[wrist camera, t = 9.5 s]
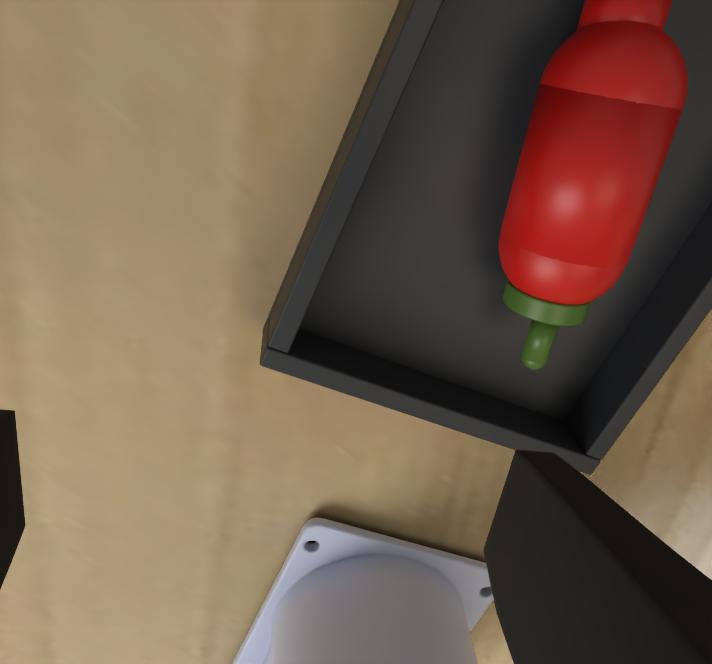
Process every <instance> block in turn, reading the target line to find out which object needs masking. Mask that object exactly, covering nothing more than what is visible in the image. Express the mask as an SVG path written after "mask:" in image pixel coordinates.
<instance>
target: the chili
mask: <svg viewBox="0 0 712 664" xmlns="http://www.w3.org/2000/svg"><path fill="white" fill-rule="evenodd" d="M672 1H673V0H585V2H584V6H583V9H582V13H581V16H580V20H579V24H578V27H577V31H576V32H575V33H574V34H573V35H572V36H570V37H569V38H568V39H567V40H566V41H564V42H563V43H562V44H561V46H560V47H559V48H558V49H557V50H556V52H555V53H554V54H553V55H552V57H551V58H550V60H549V62H548V64H547V65H546V67H545V69H544V72H543V75H542V77H541V80H540V83H539V86H538V90H537V94H536V97H535V101H534V105H533V109H532V113H531V116H530V120H529V124H528V128H527V132H526V135H525V139H524V143H523V147H522V151H521V154H520V158H519V162H518V166H517V170H516V173H515V177H514V181H513V185H512V189H511V193H510V196H509V200H508V204H507V208H506V212H505V215H504V219H503V223H502V227H501V231H500V237H499V257H500V261H501V264H502V268H503V270H504V272H505V274H506V276H507V278H508V280H507V283H506V286H505V290H504V293H503V301H504V303H505V304H506V306H508V307H509V308H510V309H511V310H513V311H514V312H516V313H518V314H520V315H522V316H524V317H527V318H529V319H532V322H531V325H530V328H529V331H528V335H527V338H526V341H525V345H524V348H523V351H522V355H521V359H522V362H523V364H524V365H525V366H526V367H527V368H529V369H532V370H538V369H541V368H543V367H544V366H545V365H546V363H547V361H548V358H549V355H550V352H551V349H552V346H553V343H554V340H555V337H556V334H557V331H558V328H559V326H575V325H579V324H581V323H583V322H584V321H585V319H586V317H587V314H588V311H589V308H590V305H591V301H592V300H594V299H596V298H598V297H599V296H601V295H603V294H604V293H605V292H607V291H608V290H609V289H610V288H611V287H612V286H613V285H614V284H615V283H616V282H617V280H618V279H619V278H620V276H621V275H622V273H623V271H624V269H625V267H626V265H627V263H628V261H629V258H630V255H631V253H632V250H633V247H634V244H635V242H636V239H637V236H638V233H639V230H640V228H641V225H642V222H643V219H644V217H645V214H646V211H647V208H648V206H649V203H650V200H651V197H652V194H653V192H654V189H655V186H656V183H657V181H658V178H659V175H660V172H661V170H662V167H663V164H664V161H665V158H666V156H667V153H668V150H669V147H670V145H671V142H672V139H673V136H674V134H675V131H676V128H677V125H678V122H679V120H680V117H681V114H682V111H683V108H684V104H685V100H686V96H687V85H688V76H687V70H686V64H685V61H684V59H683V56H682V54H681V51H680V49H679V48H678V46H677V45H676V44H675V42H674V41H673V39H672V38H671V37H670V36H669V35H668V34H666V33H665V32H664V31H663V28H664V25H665V22H666V19H667V16H668V13H669V10H670V7H671V4H672Z"/></svg>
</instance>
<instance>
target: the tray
mask: <svg viewBox="0 0 712 664" xmlns="http://www.w3.org/2000/svg"><path fill="white" fill-rule="evenodd" d="M584 2H585V0H400V1H399V3H398V5H397V8H396V10H395V13H394V15H393V18H392V20H391V22H390V25H389V27H388V30H387V32H386V34H385V37H384V39H383V42H382V44H381V46H380V49H379V51H378V54H377V56H376V58H375V61H374V63H373V66H372V68H371V70H370V73H369V75H368V78H367V80H366V82H365V85H364V87H363V90H362V92H361V94H360V97H359V99H358V102H357V104H356V106H355V109H354V111H353V114H352V116H351V119H350V121H349V123H348V126H347V128H346V131H345V133H344V135H343V138H342V140H341V143H340V145H339V147H338V150H337V152H336V155H335V157H334V159H333V162H332V164H331V167H330V169H329V171H328V174H327V176H326V179H325V181H324V183H323V186H322V188H321V191H320V193H319V195H318V198H317V200H316V203H315V205H314V208H313V210H312V212H311V215H310V217H309V220H308V222H307V224H306V227H305V229H304V232H303V234H302V236H301V239H300V241H299V244H298V246H297V248H296V251H295V253H294V256H293V258H292V260H291V263H290V265H289V268H288V270H287V272H286V275H285V277H284V280H283V282H282V284H281V287H280V289H279V292H278V294H277V296H276V299H275V301H274V304H273V306H272V309H271V311H270V313H269V316H268V318H267V321H266V323H265V325H264V328H263V337H262V346H261V356H260V365H261V366H264V367H267V368H270V369H273V370H276V371H279V372H282V373H285V374H288V375H291V376H294V377H297V378H300V379H303V380H306V381H309V382H312V383H315V384H318V385H321V386H324V387H327V388H330V389H333V390H336V391H339V392H342V393H345V394H348V395H351V396H354V397H357V398H360V399H363V400H366V401H369V402H372V403H375V404H378V405H381V406H384V407H387V408H390V409H393V410H396V411H399V412H402V413H405V414H409V415H412V416H415V417H418V418H421V419H424V420H427V421H430V422H433V423H436V424H439V425H442V426H445V427H448V428H451V429H454V430H457V431H460V432H463V433H466V434H469V435H472V436H475V437H478V438H481V439H484V440H487V441H490V442H493V443H496V444H499V445H502V446H505V447H508V448H511V449H514V450H527V451H540V452H553V453H555V454H556V455H558V456H559V457H560V458H562V459H563V460H565V461H566V462H567V463H569V464H570V465H571V466H572V467H574V468H575V469H576V470H577V471H580V472H583V473H586V474H592V473H593V471H594V470H595V469H596V467H597V466H598V464H599V463H600V460H602V459H603V458H604V456H605V455H606V453H607V452H608V451H609V449H610V448H611V447H612V445H613V444H614V442H615V441H616V440H617V438H618V437H619V436H620V434H621V433H622V431H623V430H624V429H625V427H626V426H627V424H628V423H629V422H630V420H631V419H632V418H633V416H634V415H635V413H636V412H637V411H638V409H639V408H640V407H641V405H642V404H643V402H644V401H645V400H646V398H647V397H648V396H649V394H650V393H651V391H652V390H653V389H654V387H655V386H656V384H657V383H658V382H659V380H660V379H661V378H662V376H663V375H664V373H665V372H666V371H667V369H668V368H669V367H670V365H671V364H672V362H673V361H674V360H675V358H676V357H677V356H678V354H679V353H680V351H681V350H682V349H683V347H684V346H685V344H686V343H687V342H688V340H689V339H690V338H691V336H692V335H693V333H694V332H695V331H696V329H697V328H698V327H699V325H700V324H701V322H702V321H703V320H704V318H705V317H706V316H707V314H708V313H709V311H710V310H711V309H712V0H673V1H672V4H671V7H670V10H669V13H668V16H667V19H666V22H665V25H664V28H663V31H664V32H665V33H666V34H668V35H669V36H670V37H671V38H672V39H673V41H674V42H675V44H676V45H677V46H678V48H679V49H680V51H681V54H682V56H683V59H684V61H685V64H686V70H687V76H688V85H687V96H686V100H685V104H684V108H683V111H682V114H681V117H680V120H679V122H678V125H677V128H676V131H675V134H674V136H673V139H672V142H671V145H670V147H669V150H668V153H667V156H666V158H665V161H664V164H663V167H662V170H661V172H660V175H659V178H658V181H657V183H656V186H655V189H654V192H653V194H652V197H651V200H650V203H649V206H648V208H647V211H646V214H645V217H644V219H643V222H642V225H641V228H640V230H639V233H638V236H637V239H636V242H635V244H634V247H633V250H632V253H631V255H630V258H629V261H628V263H627V265H626V267H625V269H624V271H623V273H622V275H621V276H620V278H619V279H618V280H617V282H616V283H615V284H614V285H613V286H612V287H611V288H610V289H609V290H608V291H607V292H605V293H604V294H603V295H601V296H599V297H598V298H596V299H594V300H592V301H591V305H590V308H589V311H588V314H587V317H586V319H585V321H584V322H583V323H581V324H579V325H575V326H559V328H558V331H557V334H556V337H555V340H554V343H553V346H552V349H551V352H550V355H549V358H548V361H547V363H546V365H545V366H544V367H543V368H541V369H538V370H532V369H529V368H527V367H526V366H525V365H524V364H523V362H522V359H521V355H522V351H523V348H524V345H525V341H526V338H527V335H528V331H529V328H530V325H531V322H532V319H529V318H527V317H524V316H522V315H520V314H518V313H516V312H514V311H513V310H511V309H510V308H509V307H508V306H506V304H505V303H504V301H503V293H504V290H505V286H506V283H507V280H508V278H507V276H506V274H505V272H504V270H503V268H502V264H501V261H500V257H499V237H500V231H501V227H502V223H503V219H504V215H505V212H506V208H507V204H508V200H509V196H510V193H511V189H512V185H513V181H514V177H515V173H516V170H517V166H518V162H519V158H520V154H521V151H522V147H523V143H524V139H525V135H526V132H527V128H528V124H529V120H530V116H531V113H532V109H533V105H534V101H535V97H536V94H537V90H538V86H539V83H540V80H541V77H542V75H543V72H544V69H545V67H546V65H547V64H548V62H549V60H550V58H551V57H552V55H553V54H554V53H555V52H556V50H557V49H558V48H559V47H560V46H561V44H562V43H563V42H564V41H566V40H567V39H568V38H569V37H570V36H572V35H573V34H574V33H575V32H576V31H577V27H578V24H579V20H580V16H581V13H582V9H583V6H584Z"/></svg>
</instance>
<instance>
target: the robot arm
mask: <svg viewBox="0 0 712 664" xmlns="http://www.w3.org/2000/svg"><path fill="white" fill-rule="evenodd" d="M24 528H25V517H24V506H23V495H22V485H21V474H20V463H19V452H18V442H17V431H16V420H15V411H12V410H0V589H1V586H2V584H3V581H4V579H5V576H6V574H7V572H8V569H9V567H10V564H11V562H12V559H13V557H14V554H15V551H16V549H17V546H18V543H19V541H20V538H21V536H22V533H23V530H24ZM308 541H316V542H315V543H307V542H308ZM484 555H485V560H486V563H484V562H481V561H477V560H473V559H470V558H466V557H463V556H459V555H455V554H452V553H448V552H444V551H441V550H437V549H433V548H430V547H426V546H423V545H419V544H415V543H412V542H408V541H404V540H401V539H397V538H393V537H390V536H386V535H382V534H379V533H375V532H372V531H368V530H364V529H361V528H357V527H353V526H350V525H346V524H342V523H339V522H335V521H332V520H328V519H324V518H312V519H310V520H308V521H307V522H306V523H305V524H304V525H303V527H302V529H301V531H300V533H299V535H298V537H297V539H296V541H295V543H294V545H293V547H292V549H291V550H290V552H289V554H288V556H287V558H286V560H285V562H284V564H283V566H282V568H281V570H280V572H279V574H278V576H277V578H276V579H275V581H274V583H273V585H272V587H271V589H270V591H269V593H268V595H267V597H266V599H265V601H264V603H263V605H262V607H261V608H260V610H259V612H258V614H257V616H256V618H255V620H254V622H253V624H252V626H251V628H250V630H249V632H248V634H247V636H246V637H245V639H244V641H243V643H242V645H241V647H240V649H239V651H238V653H237V655H236V657H235V659H234V661H233V663H232V664H479V663H478V660H477V656H476V653H475V649H474V646H473V642H472V639H471V635H470V632H471V631H472V629H473V628H474V626H475V625H476V624H477V622H478V621H479V619H480V618H481V617H482V615H483V614H484V612H485V611H486V610H487V608H488V607H489V605H490V604H491V603H492V601H493V600H494V602H495V607H496V611H497V615H498V618H499V621H500V624H501V627H502V630H503V633H504V636H505V639H506V642H507V645H508V648H509V650H510V653H511V656H512V659H513V662H514V664H712V580H711V579H709V578H708V577H707V576H705V575H704V574H703V573H702V572H700V571H699V570H698V569H697V568H695V567H694V566H693V565H691V564H690V563H689V562H688V561H686V560H685V559H684V558H683V557H681V556H680V555H679V554H678V553H676V552H675V551H674V550H673V549H671V548H670V547H669V546H668V545H667V544H665V543H664V542H663V541H662V540H660V539H659V538H658V537H657V536H656V535H654V534H653V533H652V532H651V531H649V530H648V529H647V528H646V527H645V526H643V525H642V524H641V523H640V522H639V521H637V520H636V519H635V518H634V517H633V516H631V515H630V514H629V513H628V512H627V511H626V510H624V509H623V508H622V507H621V506H620V505H618V504H617V503H616V502H615V501H614V500H612V499H611V498H610V497H609V496H608V495H606V494H605V493H604V492H603V491H602V490H601V489H599V488H598V487H597V486H596V485H595V484H593V483H592V482H591V481H590V480H588V479H587V478H586V477H585V476H584V475H582V474H581V473H580V472H579V471H577V470H576V469H575V468H574V467H572V466H571V465H570V464H569V463H567V462H566V461H565V460H563V459H562V458H560V457H559V456H558V455H556V454H555V453H553V452H540V451H527V450H516V451H515V454H514V457H513V460H512V463H511V466H510V469H509V473H508V476H507V479H506V482H505V485H504V488H503V491H502V494H501V497H500V500H499V503H498V507H497V510H496V513H495V516H494V519H493V522H492V525H491V528H490V531H489V534H488V537H487V541H486V544H485V547H484ZM485 587H487V588H485Z"/></svg>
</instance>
